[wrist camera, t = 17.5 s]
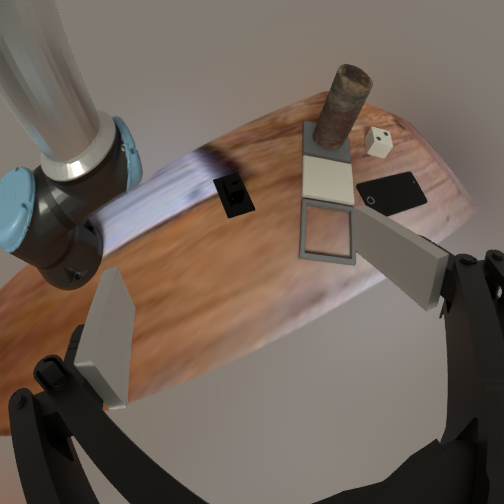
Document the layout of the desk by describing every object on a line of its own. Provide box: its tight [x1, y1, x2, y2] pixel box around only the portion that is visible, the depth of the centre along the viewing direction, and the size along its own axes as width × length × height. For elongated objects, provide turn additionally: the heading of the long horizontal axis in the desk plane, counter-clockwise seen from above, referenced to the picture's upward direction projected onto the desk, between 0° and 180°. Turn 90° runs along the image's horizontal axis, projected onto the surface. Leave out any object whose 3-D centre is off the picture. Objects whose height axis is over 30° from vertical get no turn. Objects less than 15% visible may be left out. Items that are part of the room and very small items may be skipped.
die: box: [364, 127, 393, 158], centre depth 61 cm, size 5×5×5 cm
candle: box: [313, 64, 373, 150], centre depth 52 cm, size 8×7×20 cm
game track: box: [299, 121, 356, 266], centre depth 58 cm, size 11×34×1 cm, turn 174°
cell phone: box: [356, 172, 427, 217], centre depth 60 cm, size 9×18×1 cm, turn 110°
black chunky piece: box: [213, 172, 255, 218], centre depth 55 cm, size 12×7×5 cm, turn 22°
